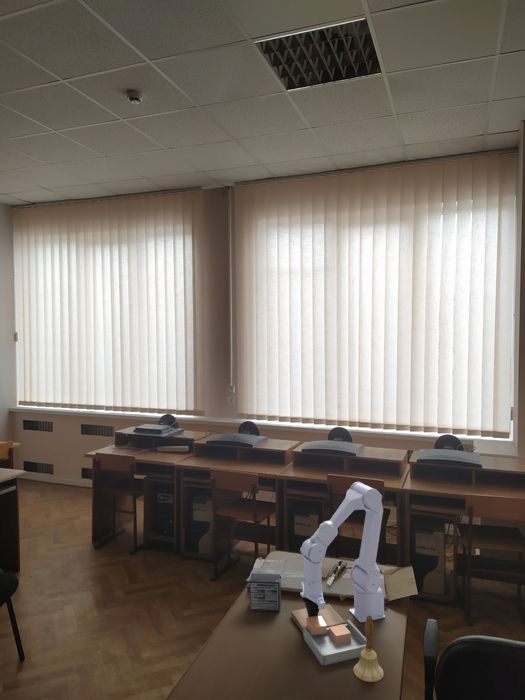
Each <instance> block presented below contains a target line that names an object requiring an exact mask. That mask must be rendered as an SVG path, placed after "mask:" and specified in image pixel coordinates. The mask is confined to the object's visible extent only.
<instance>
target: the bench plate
mask: <svg viewBox="0 0 525 700" xmlns="http://www.w3.org/2000/svg"><path fill="white" fill-rule="evenodd" d="M290 615H291V616H290V617H291V619H292V620H293V622H295V625H296V626H297V627H298V629H299V630H300V631H301V632H302V634H303V629H306V630H307V631H308V632H309V630H308V627H307V625H306V617H308V613H307V608H306V607H305V608H300V609H296V610H295V609H294V610H291V612H290ZM318 616H322V618H323V619H324V621H325V623H326V625H327V628H329V627H332V626H337V625H342V624H347V621H345V619H344V618H342V617H341V615H339V613H338V612H337V611H336V610H335V609H334V607H332V605H331V604H330V603H327V604H326V603H325V609H321V610H319V612H318Z"/></svg>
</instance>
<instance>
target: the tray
mask: <svg viewBox="0 0 525 700" xmlns="http://www.w3.org/2000/svg"><path fill="white" fill-rule="evenodd" d="M344 626H345V627H346V628H347V629H348V630H349V631H350V632H351V641H348V642H344V643H339V644H336V643H335V642H334V641H333V639H332V638H331V637H330V636H329V628H327V631H326V633H324V634H316V635H311V634H310V632H308V631H307V630H306V629H303V633H302V637H303V638H302V639H303V641H305V643H306V644H307V646H308V648H309V649H310V650H311V651H312V653H313V655H314V656H315V657H316V659H317V660H318V662H319V664H320V665H322V667H326V666H329V665H333V664H338V663H342V662H343V663H344V662H347V661H350V660H355V659H360V655H361V651H362V650H364V649H366V635H364V634H363V633H362V632H361V631H360V630H359V629H358V628H357V626H356V625H355V624H354V623H353V622H352V621H351V620H350V619H347V620H346V624H344Z"/></svg>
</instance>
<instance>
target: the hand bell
mask: <svg viewBox="0 0 525 700" xmlns="http://www.w3.org/2000/svg"><path fill="white" fill-rule="evenodd" d="M374 624H375V623H374V620H372V616H367V619H366V622H364V634H365V635H364V636H365V638H366V649H364V650H362V651H361V655H360V658H359V660H358V662H357V663H355V665H354V667H353V673H354V674H353V675H354V676H356V677H357V678H358V679H359V680H361V681H364V682H366V683H367V682H368V683H376V682H379V681H381V680H382V679H383V677H384V670H383V668H382V667H381V666H380V664H379V662H378V654H377V653H376V651H375V650H373V636H374V633H375V625H374Z"/></svg>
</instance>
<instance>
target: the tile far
mask: <svg viewBox="0 0 525 700" xmlns="http://www.w3.org/2000/svg"><path fill="white" fill-rule="evenodd" d="M306 625H307V627H308V630H309V632H310V634H311V635H316V634H324V633H326V631H327V625H326V623H325V621H324V619H323V618H322V616H314V617H306Z"/></svg>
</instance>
